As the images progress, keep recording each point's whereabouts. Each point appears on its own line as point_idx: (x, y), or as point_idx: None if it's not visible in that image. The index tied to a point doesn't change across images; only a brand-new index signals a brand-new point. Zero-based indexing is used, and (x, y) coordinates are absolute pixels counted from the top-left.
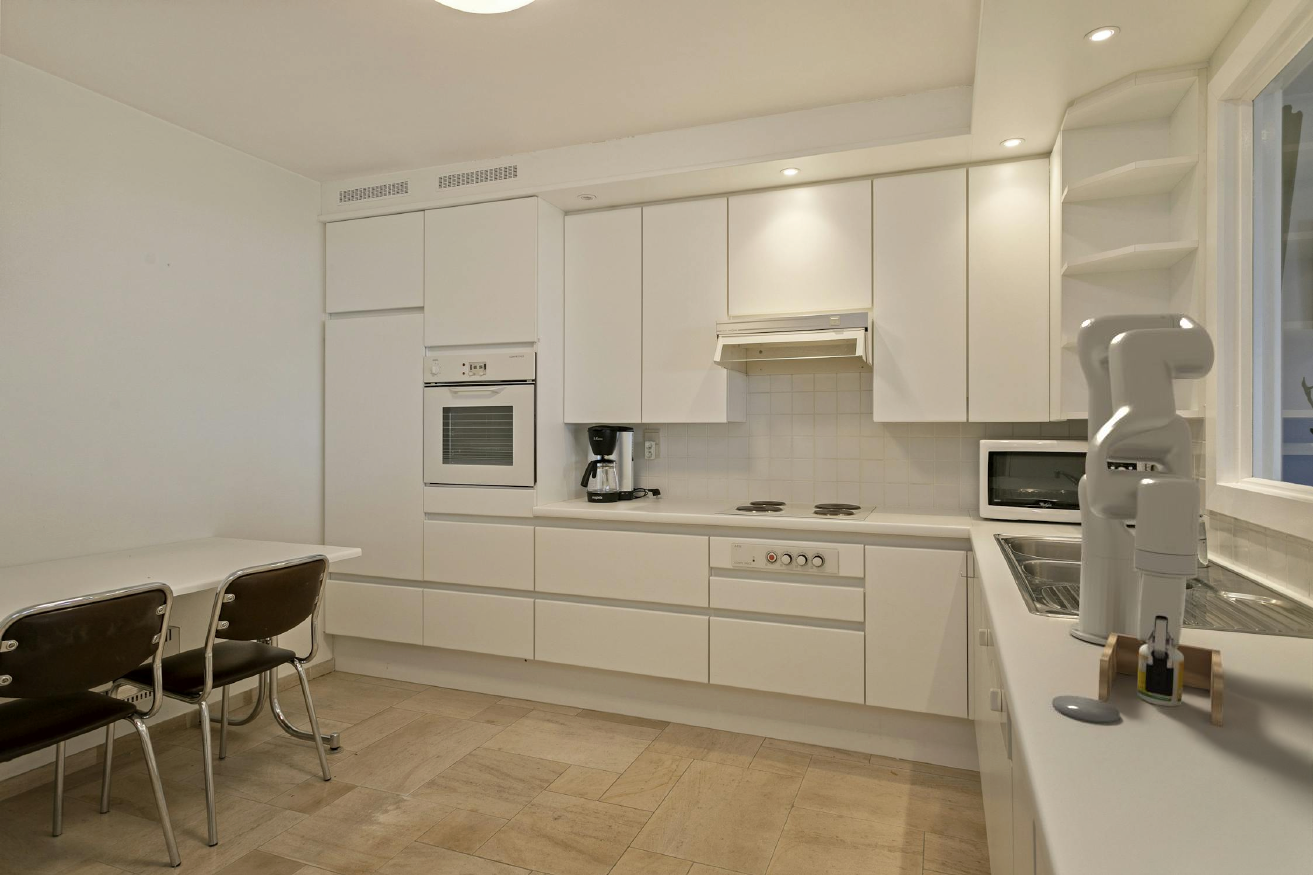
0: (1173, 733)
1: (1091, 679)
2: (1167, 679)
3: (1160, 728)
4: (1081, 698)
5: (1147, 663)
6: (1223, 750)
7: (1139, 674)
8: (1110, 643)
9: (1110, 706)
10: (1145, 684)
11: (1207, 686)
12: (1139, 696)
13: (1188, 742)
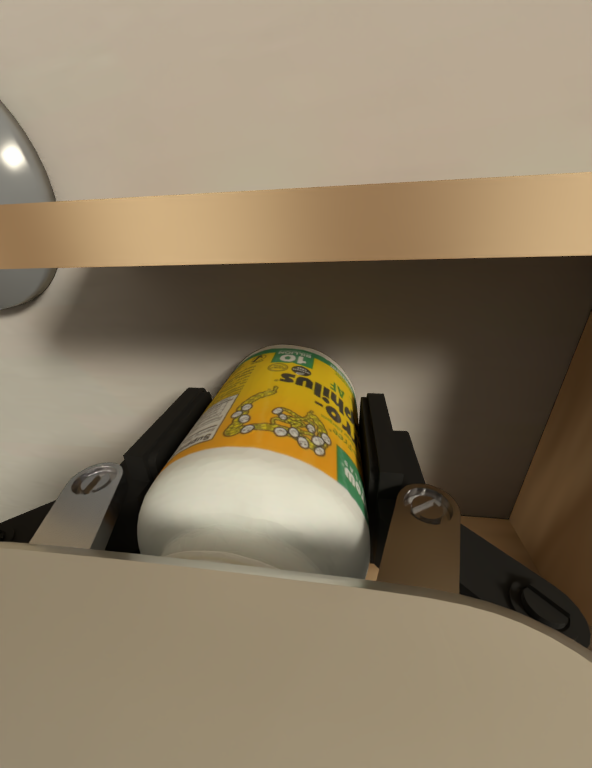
0: (44, 424)
1: (394, 135)
2: None
3: (47, 401)
4: (3, 158)
5: (132, 460)
6: (49, 494)
7: (236, 385)
8: (481, 219)
9: (30, 276)
10: (180, 397)
11: (515, 522)
12: (257, 350)
13: (23, 447)
